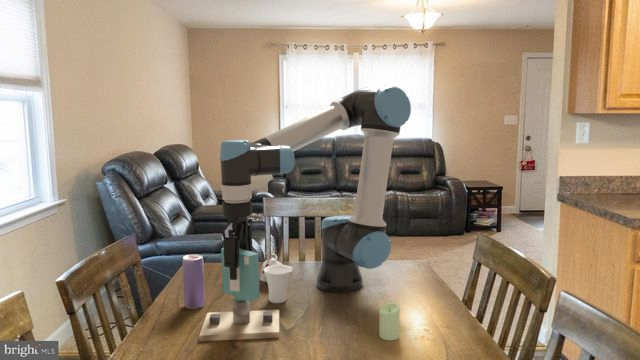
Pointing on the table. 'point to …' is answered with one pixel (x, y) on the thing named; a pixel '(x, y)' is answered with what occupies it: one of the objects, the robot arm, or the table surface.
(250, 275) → the teal rectangular panel
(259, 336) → the post base
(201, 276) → the beverage can
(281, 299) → the cup
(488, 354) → the table surface
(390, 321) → the candle
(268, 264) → the white ceramic figurine
